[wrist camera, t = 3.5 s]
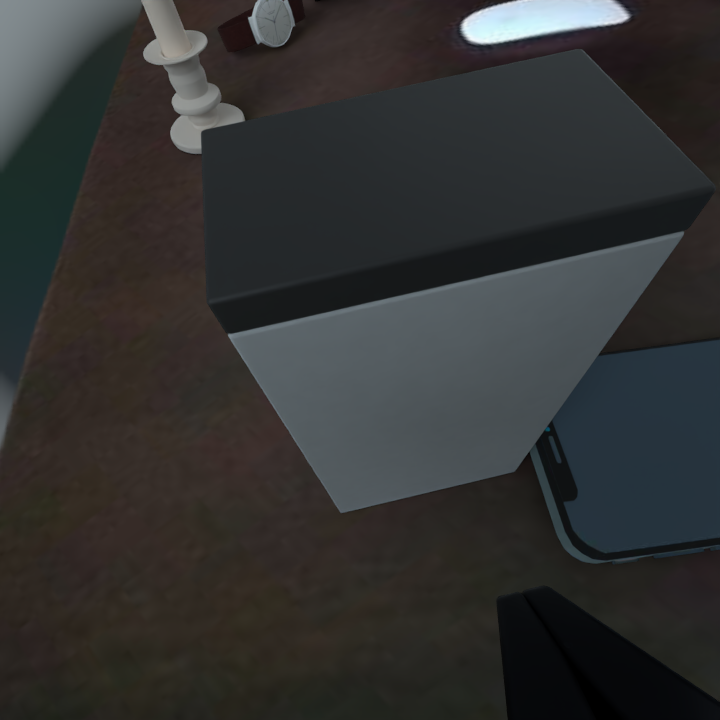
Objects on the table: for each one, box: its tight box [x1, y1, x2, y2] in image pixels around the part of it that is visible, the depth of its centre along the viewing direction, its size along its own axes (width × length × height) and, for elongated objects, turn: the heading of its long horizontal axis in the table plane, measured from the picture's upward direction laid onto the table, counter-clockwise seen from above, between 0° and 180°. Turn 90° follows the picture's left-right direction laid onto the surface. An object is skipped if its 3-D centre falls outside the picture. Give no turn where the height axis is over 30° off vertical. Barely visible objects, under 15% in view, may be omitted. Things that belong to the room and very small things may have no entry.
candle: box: [141, 0, 245, 154], centre depth 27 cm, size 5×5×10 cm
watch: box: [218, 0, 305, 52], centre depth 35 cm, size 8×5×4 cm, turn 131°
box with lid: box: [201, 49, 716, 513], centre depth 12 cm, size 4×7×13 cm, turn 102°
